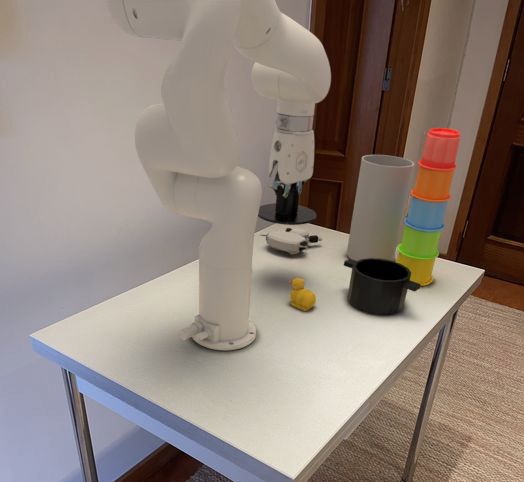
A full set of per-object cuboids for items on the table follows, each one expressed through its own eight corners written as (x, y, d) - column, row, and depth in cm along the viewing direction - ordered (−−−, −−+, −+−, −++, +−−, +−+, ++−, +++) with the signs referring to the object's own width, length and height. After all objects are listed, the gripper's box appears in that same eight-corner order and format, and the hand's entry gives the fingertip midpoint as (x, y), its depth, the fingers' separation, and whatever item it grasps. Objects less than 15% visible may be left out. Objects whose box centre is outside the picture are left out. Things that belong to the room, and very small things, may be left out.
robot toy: (285, 238, 152) (257, 249, 140) (287, 222, 149) (259, 232, 138) (323, 248, 146) (297, 261, 135) (326, 232, 144) (300, 243, 133)
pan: (396, 326, 109) (404, 291, 105) (326, 297, 119) (331, 264, 115) (424, 307, 118) (432, 274, 113) (356, 281, 127) (362, 250, 123)
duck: (318, 308, 114) (321, 282, 111) (307, 313, 112) (310, 288, 108) (294, 297, 118) (296, 272, 114) (283, 302, 115) (285, 277, 112)
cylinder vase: (402, 259, 141) (424, 163, 128) (375, 271, 133) (395, 169, 120) (364, 245, 148) (381, 152, 135) (336, 255, 140) (351, 158, 127)
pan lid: (290, 232, 110) (292, 205, 107) (243, 215, 117) (244, 190, 114) (327, 219, 118) (331, 194, 115) (282, 204, 125) (284, 180, 122)
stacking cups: (441, 283, 129) (481, 133, 111) (407, 289, 125) (443, 134, 107) (414, 267, 137) (448, 124, 119) (382, 271, 133) (412, 125, 115)
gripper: (283, 130, 100) (275, 224, 110) (332, 123, 110) (321, 209, 120) (253, 123, 104) (249, 215, 114) (304, 117, 114) (295, 201, 124)
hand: (286, 211), depth 117 cm, fingers closed on pan lid, 2 cm apart
